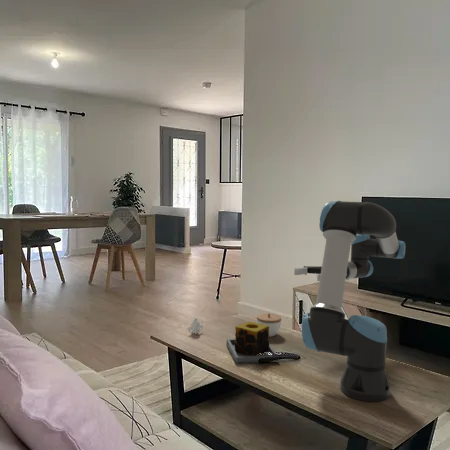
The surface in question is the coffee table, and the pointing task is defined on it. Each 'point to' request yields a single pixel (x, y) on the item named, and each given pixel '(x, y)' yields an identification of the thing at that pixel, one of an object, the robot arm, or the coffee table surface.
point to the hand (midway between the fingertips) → (306, 274)
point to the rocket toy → (195, 326)
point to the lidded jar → (270, 322)
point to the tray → (242, 358)
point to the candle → (252, 338)
